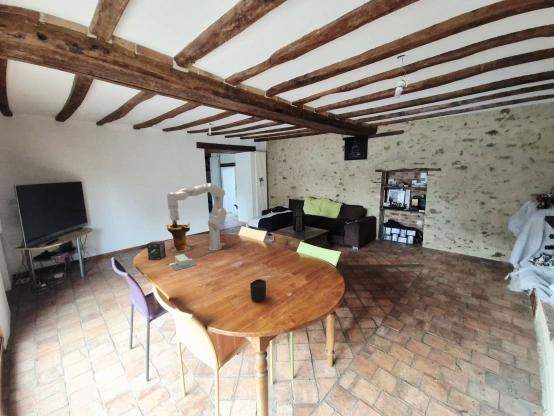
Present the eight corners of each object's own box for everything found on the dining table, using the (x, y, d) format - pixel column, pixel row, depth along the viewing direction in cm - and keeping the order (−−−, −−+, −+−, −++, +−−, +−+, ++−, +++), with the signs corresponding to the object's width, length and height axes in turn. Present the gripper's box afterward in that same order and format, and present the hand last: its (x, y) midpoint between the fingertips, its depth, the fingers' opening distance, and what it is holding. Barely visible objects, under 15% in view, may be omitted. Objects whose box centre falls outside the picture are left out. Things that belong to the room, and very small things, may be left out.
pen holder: (267, 301, 130) (267, 285, 129) (251, 304, 128) (250, 287, 127) (265, 293, 139) (264, 278, 138) (249, 295, 137) (249, 280, 136)
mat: (191, 261, 193) (191, 260, 193) (196, 265, 184) (196, 264, 184) (171, 266, 183) (171, 265, 183) (176, 270, 174) (175, 270, 174)
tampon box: (166, 256, 206) (164, 240, 204) (160, 260, 197) (158, 243, 195) (155, 255, 207) (153, 240, 205) (148, 259, 198) (146, 243, 196)
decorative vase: (188, 252, 214) (185, 223, 210) (164, 253, 214) (160, 225, 210) (196, 245, 234) (193, 219, 230) (175, 247, 235) (171, 220, 231)
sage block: (183, 253, 191) (188, 259, 183) (183, 259, 192) (188, 264, 184) (175, 256, 187) (179, 261, 178) (175, 261, 188) (180, 267, 179)
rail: (191, 260, 195) (191, 258, 195) (192, 260, 194) (192, 259, 194) (169, 265, 184) (169, 264, 184) (170, 266, 182) (170, 264, 182)
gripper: (180, 207, 186) (182, 228, 189) (175, 205, 197) (177, 225, 200) (171, 208, 181) (173, 230, 184) (165, 206, 192) (168, 227, 195)
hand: (175, 228), depth 192 cm, fingers closed
